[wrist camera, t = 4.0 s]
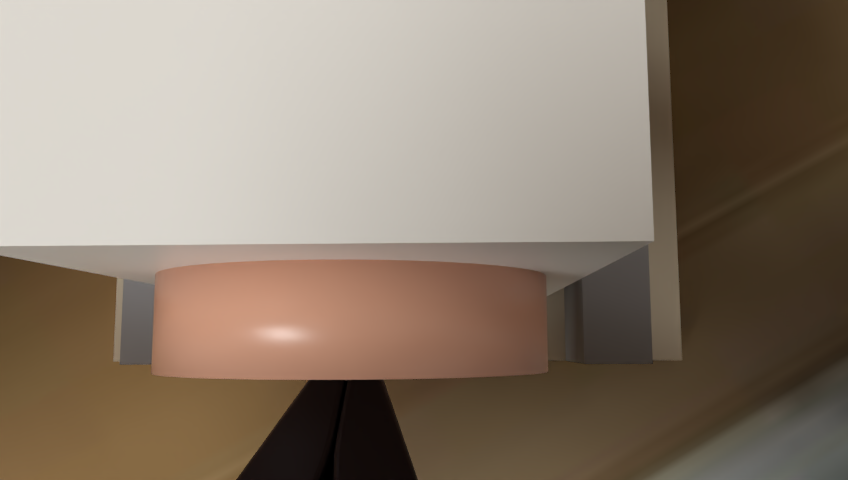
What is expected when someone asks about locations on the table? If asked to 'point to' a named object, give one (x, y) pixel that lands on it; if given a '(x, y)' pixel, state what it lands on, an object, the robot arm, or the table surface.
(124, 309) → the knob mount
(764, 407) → the table surface
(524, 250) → the push knob
